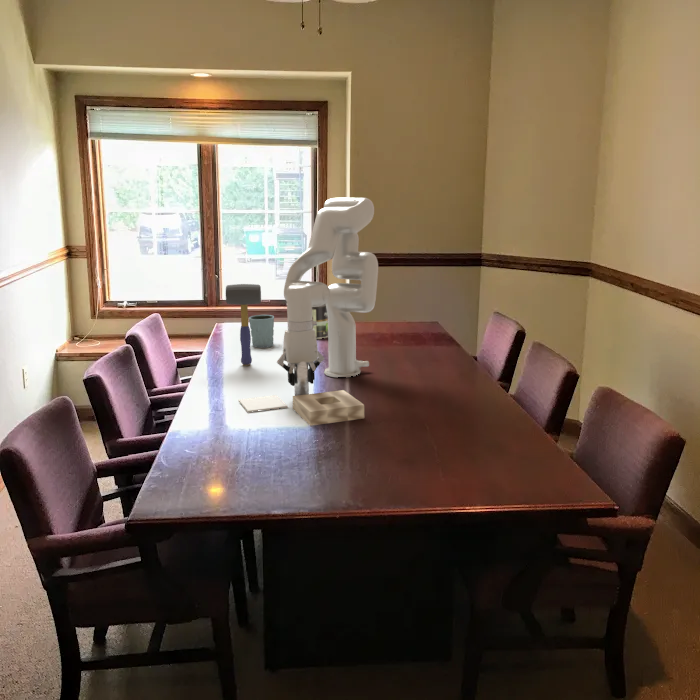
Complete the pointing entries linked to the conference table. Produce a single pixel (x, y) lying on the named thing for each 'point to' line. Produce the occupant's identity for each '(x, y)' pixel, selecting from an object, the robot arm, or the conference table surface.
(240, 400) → the mat
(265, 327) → the teal cup
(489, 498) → the conference table surface
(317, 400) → the socket block
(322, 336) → the coffee can
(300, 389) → the steel cylinder
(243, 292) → the rubber mallet
